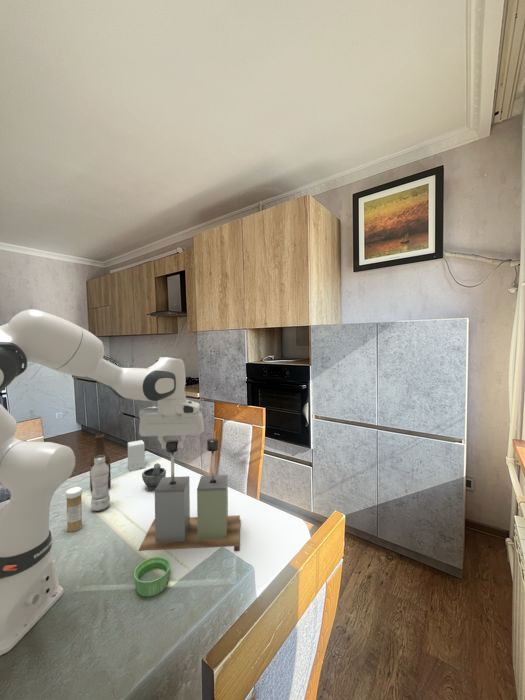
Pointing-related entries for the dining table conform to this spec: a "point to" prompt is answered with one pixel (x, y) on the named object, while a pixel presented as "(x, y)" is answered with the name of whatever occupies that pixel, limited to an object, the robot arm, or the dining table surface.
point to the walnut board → (194, 537)
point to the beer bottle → (99, 451)
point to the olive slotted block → (212, 507)
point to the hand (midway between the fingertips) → (172, 448)
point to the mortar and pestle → (153, 476)
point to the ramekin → (155, 585)
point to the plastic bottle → (99, 484)
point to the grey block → (172, 509)
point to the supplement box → (136, 455)
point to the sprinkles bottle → (74, 509)
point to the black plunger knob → (212, 455)
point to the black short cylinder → (172, 455)
